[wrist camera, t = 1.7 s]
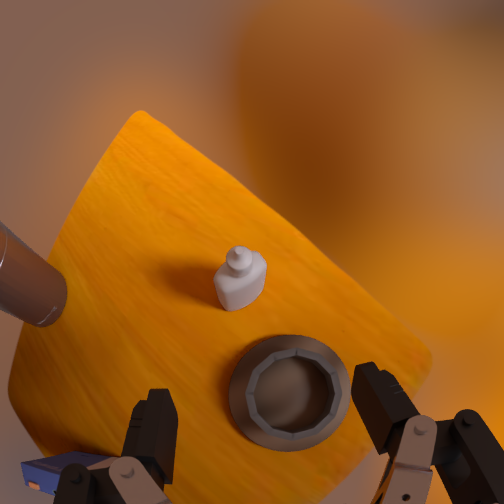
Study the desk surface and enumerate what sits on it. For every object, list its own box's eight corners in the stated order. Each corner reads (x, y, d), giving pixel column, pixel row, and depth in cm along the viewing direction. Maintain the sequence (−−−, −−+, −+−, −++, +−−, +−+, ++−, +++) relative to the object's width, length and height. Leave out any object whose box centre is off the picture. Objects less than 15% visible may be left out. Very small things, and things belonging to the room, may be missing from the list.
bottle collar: (204, 389, 31) (199, 389, 28) (292, 312, 35) (297, 305, 32) (285, 471, 27) (289, 479, 24) (369, 390, 31) (381, 390, 28)
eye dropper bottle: (217, 279, 37) (205, 231, 26) (261, 275, 37) (268, 226, 27) (219, 313, 35) (207, 277, 24) (266, 308, 36) (275, 270, 25)
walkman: (78, 469, 25) (23, 486, 14) (74, 450, 26) (18, 462, 15) (130, 477, 25) (84, 506, 14) (126, 458, 26) (78, 480, 16)
